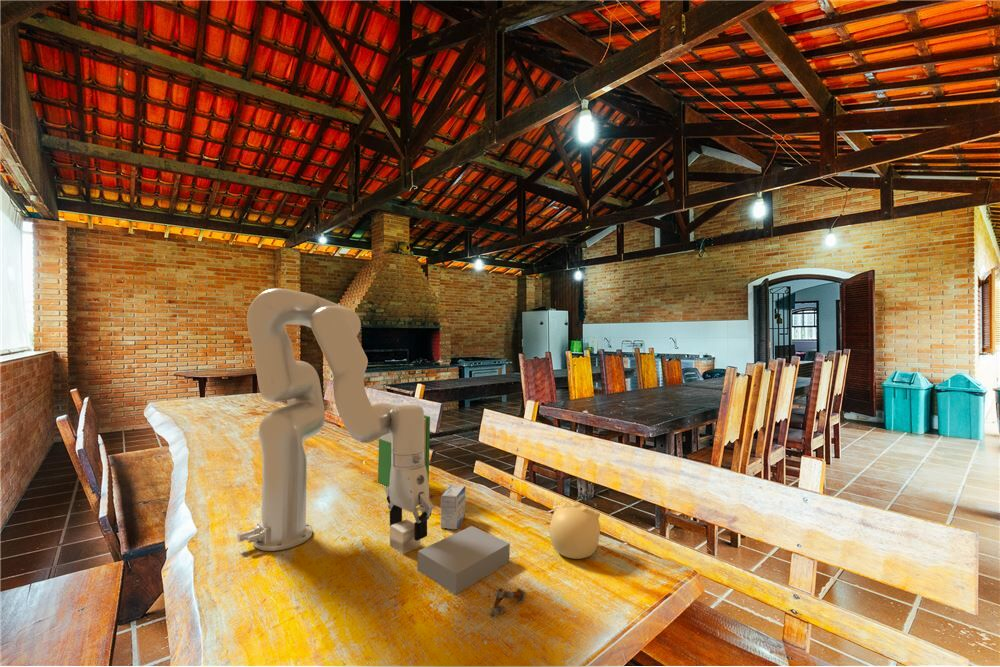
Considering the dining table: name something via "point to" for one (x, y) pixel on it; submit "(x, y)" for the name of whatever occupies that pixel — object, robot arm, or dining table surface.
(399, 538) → the wooden cube
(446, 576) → the stand
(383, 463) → the hardback book
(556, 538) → the sculpture
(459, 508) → the medicine box
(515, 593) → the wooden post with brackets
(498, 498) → the dining table surface
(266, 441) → the robot arm
